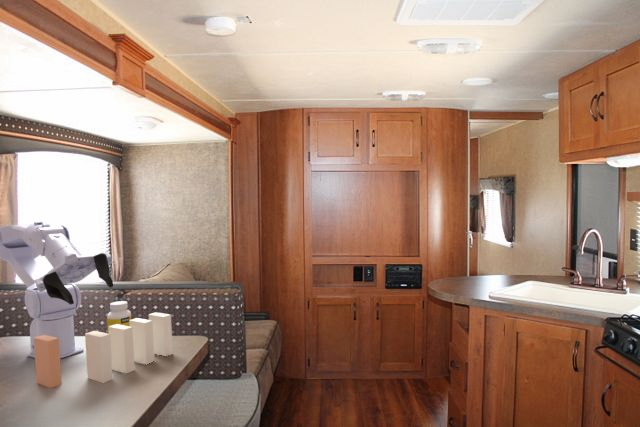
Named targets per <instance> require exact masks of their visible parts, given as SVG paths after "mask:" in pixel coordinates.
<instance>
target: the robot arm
mask: <svg viewBox="0 0 640 427" xmlns="http://www.w3.org/2000/svg"><path fill="white" fill-rule="evenodd" d="M70 237H71V236H70V232H69V229H68V228H67V227H66V226H65V225H60V226H51V224H49V223H48V224H47V223H45V224H44V223H43V221H33V223H32V224H31V223H28V224H25V223H24V224H10V225H4V226H3V225H2V226H0V260H1V261H4V262H7V264H9V266H10V267H11V269H12V270H13V272H14V273H15V274H16V275H17V277H18V278H19V280H21V281H22V283H23V284H24V285H25V287H26V289H25V293H24V305H25V306H26V310H27V313H28V315H29V316H30V317H31V318H32V319H33V320H32V322H30V326H29V339H30V340H29V341H30V352H27V353H26V356H28V357H31V358H34V359H35V348H34V337H38V336H41V335H48V336H52V337H56V338H59V348H60V359H63V358H66V357H69V356H72V355H75V354H78V353H82V352H83V351H84V348H83V347H78V346H76V340H75V323H74V315H75V314H77V310H78V309H79V308H80V307H81V305H82V293H81V289H80V288H79V286H78V285H76V284H75V283H78V282H80V281H82V280H84V279H85V278H87V276H89V275H91V274H92V273H93V272H95V270H96V271H97V275H98V278H99V279H101V280H103V281H104V282H105V284H106V286H108V287H109V288H110V289H111V288H113V287H114V283H113V278H112V277H111V275H110V274H111V271H110V266H109V265H111V264H113V263H114V262H113V258H112V255H111V254H110V253H109V252H108V251H107V252H100V253H96V254H85V255H83V254H81V253H80V251H79V250H78V249H77V247H75V246H74V244H73V243H72V242H71V239H70ZM39 256H40V257H45V258H46V260H47V261H48V263H49V264H50V265H51V266H52V269H50V270H49V271H46V269H45V268H44V267H42V265H41V264H40V263H39V262H38V261H37V260H36V258H38V257H39Z"/></svg>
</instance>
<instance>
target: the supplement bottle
mask: <svg viewBox="0 0 640 427" xmlns="http://www.w3.org/2000/svg"><path fill="white" fill-rule="evenodd" d="M128 307H129V305H128V301H125V300H119V301H114V302H110V303H109V310H110V311H109V312H108V313H107V316H106V319H107V320H106V321H107V323H106V324H107V328H108V327H109V326H112V325H115V324H120V325H125V326H130V325H129V320H132V313H131V310H129V309H128ZM107 334H109V332H108V331H107Z"/></svg>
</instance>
